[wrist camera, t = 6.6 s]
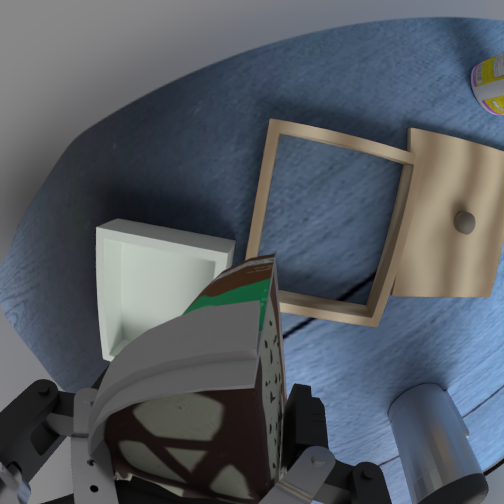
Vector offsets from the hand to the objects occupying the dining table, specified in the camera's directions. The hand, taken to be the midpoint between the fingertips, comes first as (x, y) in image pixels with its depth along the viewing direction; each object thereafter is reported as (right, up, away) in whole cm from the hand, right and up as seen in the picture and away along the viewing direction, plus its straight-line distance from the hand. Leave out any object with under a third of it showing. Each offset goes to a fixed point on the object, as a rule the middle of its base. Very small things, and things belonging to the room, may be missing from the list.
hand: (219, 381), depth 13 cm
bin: (-8, 0, +22) cm, 23 cm away
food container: (0, +1, +3) cm, 4 cm away
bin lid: (+25, +10, +15) cm, 31 cm away
